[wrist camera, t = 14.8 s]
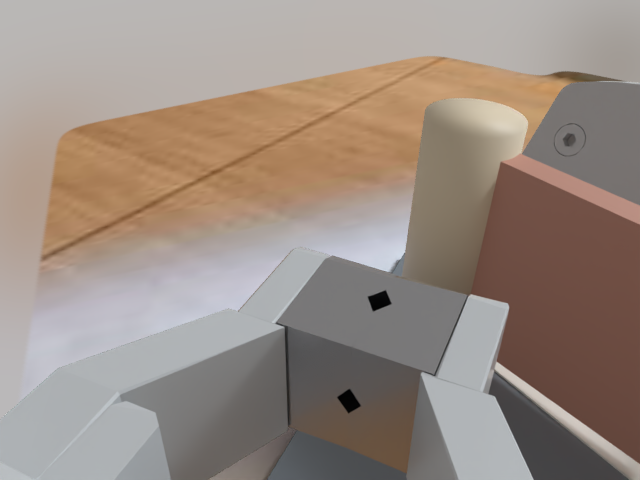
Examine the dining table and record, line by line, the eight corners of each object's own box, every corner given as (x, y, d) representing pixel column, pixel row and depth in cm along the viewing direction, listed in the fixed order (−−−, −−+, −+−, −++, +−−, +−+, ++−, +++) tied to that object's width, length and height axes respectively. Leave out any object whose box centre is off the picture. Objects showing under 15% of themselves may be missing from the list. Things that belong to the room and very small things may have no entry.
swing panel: (674, 431, 24) (795, 216, 18) (623, 486, 22) (742, 262, 16) (435, 274, 32) (468, 91, 26) (380, 303, 30) (404, 111, 24)
